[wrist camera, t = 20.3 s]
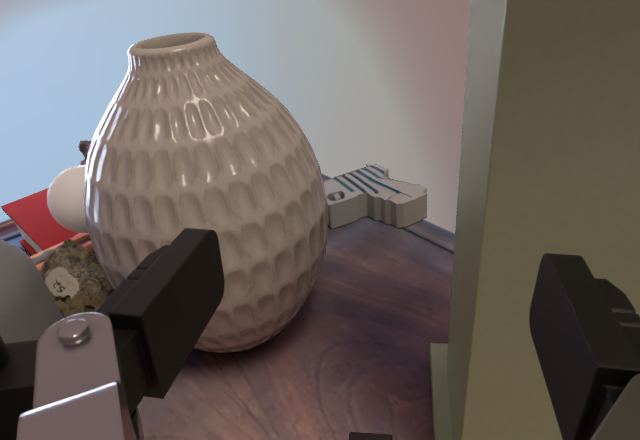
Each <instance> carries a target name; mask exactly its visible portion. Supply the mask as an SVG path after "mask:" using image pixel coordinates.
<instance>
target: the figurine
mask: <svg viewBox="0 0 640 440" xmlns="http://www.w3.org/2000/svg"><path fill="white" fill-rule="evenodd" d="M84 176H85V165H77V166H73V167H70V168H67V169H66V170H64V171H62V172H61V173H59V174H58V175H57V176H56V177H55V178H54V180H53V181H52V182H51V184H50V187H49V189H48V193H47V204H48V208H49V210H50V212H51V214H52V216H53V217H54V219H55V220H56V221H57V222H58V223H59V224H60V225H62V226H63V227H65V228H66V229H69V230H71V231H74V232H79V233H88V229H87V225H86V222H85V212H84V200H83V190H84Z"/></svg>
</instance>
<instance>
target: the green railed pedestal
mask: <svg viewBox="0 0 640 440" xmlns="http://www.w3.org/2000/svg"><path fill="white" fill-rule="evenodd" d="M545 253H552V254H567V255H580V256H582V257H583V259H584V260H585V262H586V264H587V266H588V267H589V269H590V271H591V273H592V274H593V276H594V278H598V279H607V280H608V281H609V282H611V283H612V284H613V285H614V286H616V287H617V288H618V289H620V290H621V291H622V292H623V293H625V294H626V296H627V297H628V299H629V301H630V302H631V304H632V305H633V307H634V309H635V310H636V314H638V315H639V316H640V0H471V6H470V21H469V36H468V51H467V67H466V81H465V96H464V111H463V126H462V141H461V156H460V171H459V187H458V201H457V216H456V232H455V247H454V262H453V277H452V292H451V307H450V322H449V337H448V344H443V343H430V368H431V388H432V407H433V427H434V440H563V439H562V435H561V432H560V429H559V426H558V422H557V419H556V416H555V412H554V409H553V406H552V402H551V399H550V396H549V392H548V389H547V386H546V382H545V379H544V376H543V372H542V369H541V366H540V362H539V359H538V356H537V352H536V349H535V346H534V343H533V339H532V336H531V332H530V324H529V314H530V306H531V301H532V297H533V293H534V288H535V284H536V279H537V275H538V271H539V266H540V262H541V259H542V256H543V255H544V254H545Z"/></svg>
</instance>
